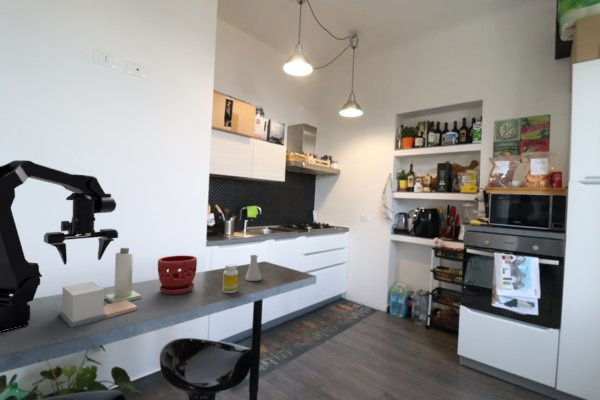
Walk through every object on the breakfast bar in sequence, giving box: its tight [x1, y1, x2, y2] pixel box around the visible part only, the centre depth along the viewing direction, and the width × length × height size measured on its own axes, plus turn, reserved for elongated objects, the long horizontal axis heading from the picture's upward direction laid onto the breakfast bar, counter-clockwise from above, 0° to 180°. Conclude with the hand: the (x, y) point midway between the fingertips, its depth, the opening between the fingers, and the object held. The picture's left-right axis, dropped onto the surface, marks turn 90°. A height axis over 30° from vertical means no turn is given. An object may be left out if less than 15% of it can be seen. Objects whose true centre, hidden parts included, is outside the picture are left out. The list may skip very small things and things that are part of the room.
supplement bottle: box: [222, 263, 239, 294], centre depth 107 cm, size 5×5×10 cm
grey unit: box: [58, 281, 108, 328], centre depth 82 cm, size 8×12×8 cm, turn 52°
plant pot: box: [157, 255, 198, 295], centre depth 106 cm, size 13×13×12 cm
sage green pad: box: [104, 289, 142, 304], centre depth 96 cm, size 8×8×1 cm
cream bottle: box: [113, 247, 134, 298], centre depth 96 cm, size 5×5×16 cm
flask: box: [244, 254, 262, 282], centre depth 123 cm, size 7×7×10 cm
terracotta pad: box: [104, 300, 138, 319], centre depth 87 cm, size 8×8×1 cm
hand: (82, 261), depth 95 cm, fingers open, 9 cm apart
